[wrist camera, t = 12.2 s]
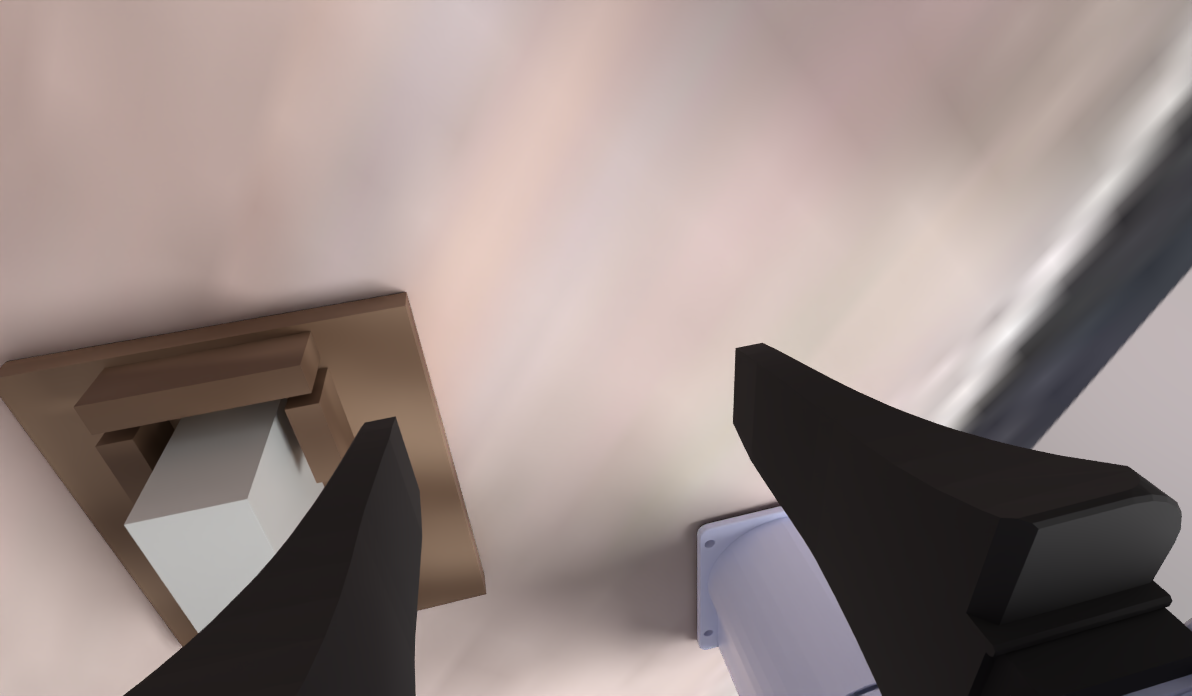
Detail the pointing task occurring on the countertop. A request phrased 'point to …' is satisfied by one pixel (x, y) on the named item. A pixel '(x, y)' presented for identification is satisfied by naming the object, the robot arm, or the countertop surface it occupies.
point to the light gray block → (222, 504)
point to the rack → (239, 378)
